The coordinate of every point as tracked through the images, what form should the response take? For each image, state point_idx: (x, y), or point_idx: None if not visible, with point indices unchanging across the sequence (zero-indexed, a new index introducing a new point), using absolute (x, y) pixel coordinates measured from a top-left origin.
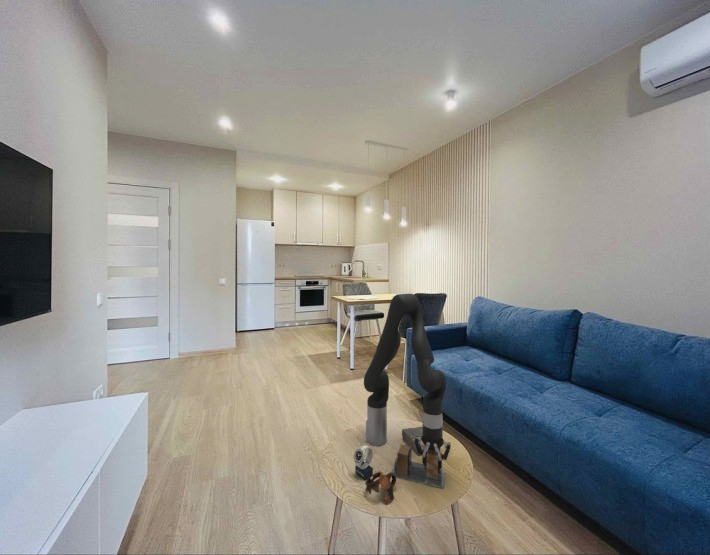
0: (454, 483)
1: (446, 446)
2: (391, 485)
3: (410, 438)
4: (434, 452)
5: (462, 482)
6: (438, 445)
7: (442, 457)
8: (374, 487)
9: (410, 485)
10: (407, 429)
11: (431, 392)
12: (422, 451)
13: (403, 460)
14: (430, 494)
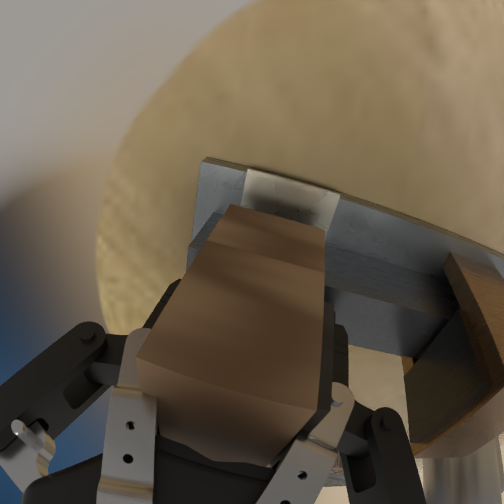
0: (141, 218)
1: (18, 442)
2: None
3: (340, 463)
4: (191, 423)
5: (106, 229)
6: (93, 495)
7: (117, 354)
8: None
9: (444, 182)
10: (336, 484)
11: None
12: (342, 438)
13: None
14: (311, 91)
